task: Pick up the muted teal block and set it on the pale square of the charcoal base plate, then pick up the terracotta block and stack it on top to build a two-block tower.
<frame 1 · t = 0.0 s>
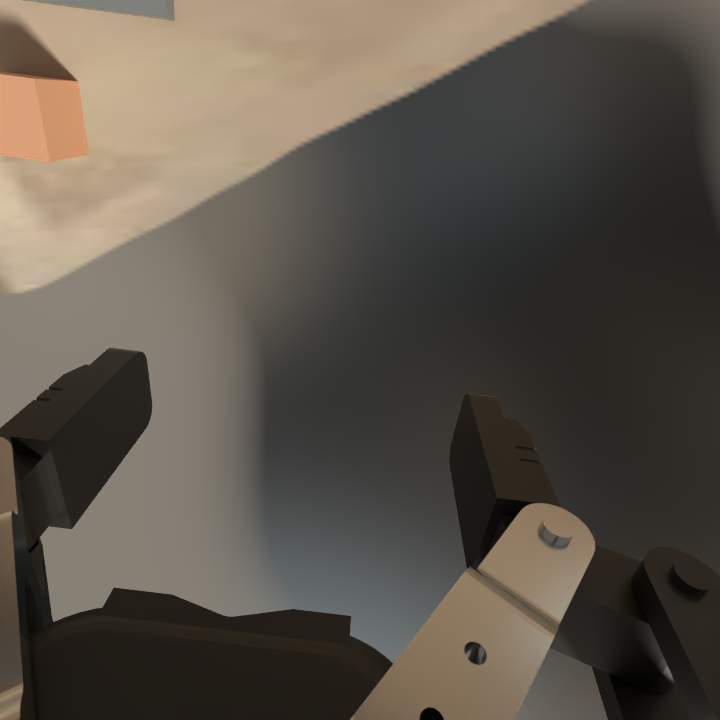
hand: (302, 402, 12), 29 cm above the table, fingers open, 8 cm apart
brick top: (51, 114, 36), on the table
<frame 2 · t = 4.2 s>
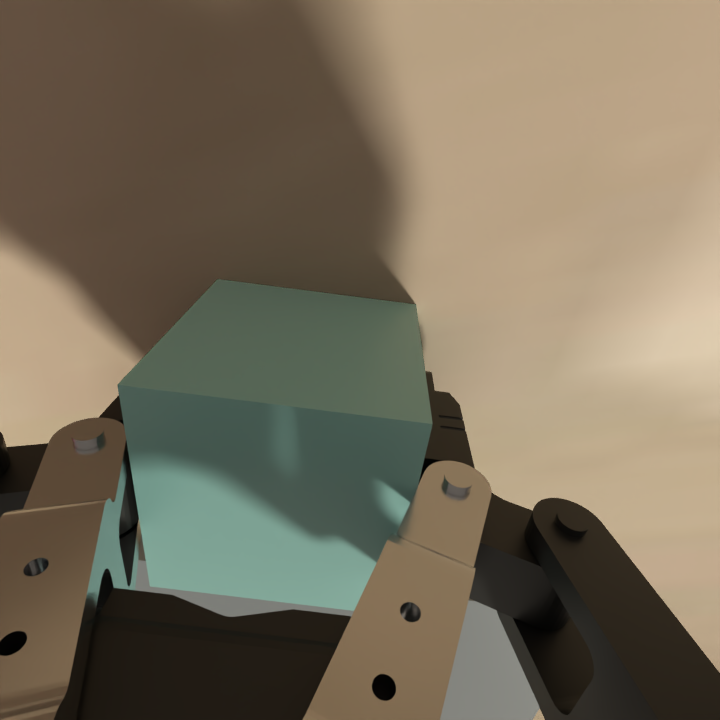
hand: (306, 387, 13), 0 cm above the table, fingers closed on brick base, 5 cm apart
brick base: (310, 376, 13), on the table, touching gripper
base plate: (288, 660, 20), on the table
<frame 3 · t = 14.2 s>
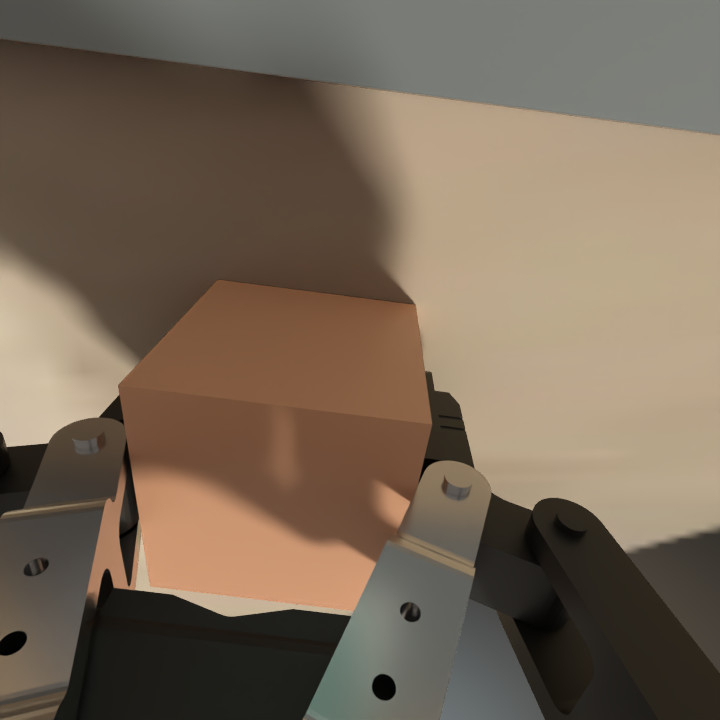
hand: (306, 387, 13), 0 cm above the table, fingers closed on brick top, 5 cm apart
brick top: (310, 376, 13), on the table, touching gripper
when the fingers open (8 cm above the table, at t = 20.2 s): brick top drops 1 cm, resting on brick base.
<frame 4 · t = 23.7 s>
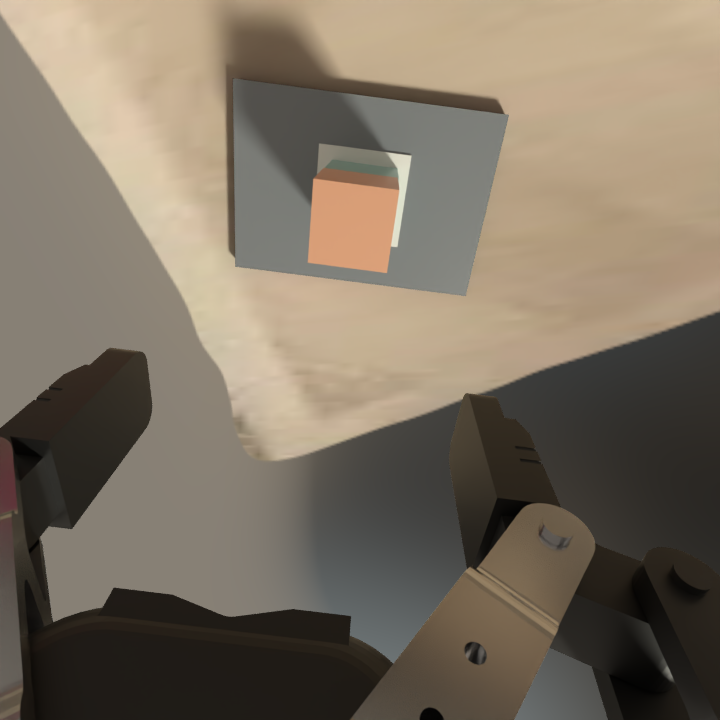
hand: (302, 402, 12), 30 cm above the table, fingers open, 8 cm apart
brick base: (360, 197, 37), point 1 cm above the table, touching base plate, brick top
brick top: (356, 210, 33), point 6 cm above the table, touching brick base
base plate: (360, 194, 38), on the table
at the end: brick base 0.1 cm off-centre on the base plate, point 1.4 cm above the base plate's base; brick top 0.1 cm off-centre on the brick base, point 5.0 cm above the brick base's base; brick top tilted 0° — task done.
